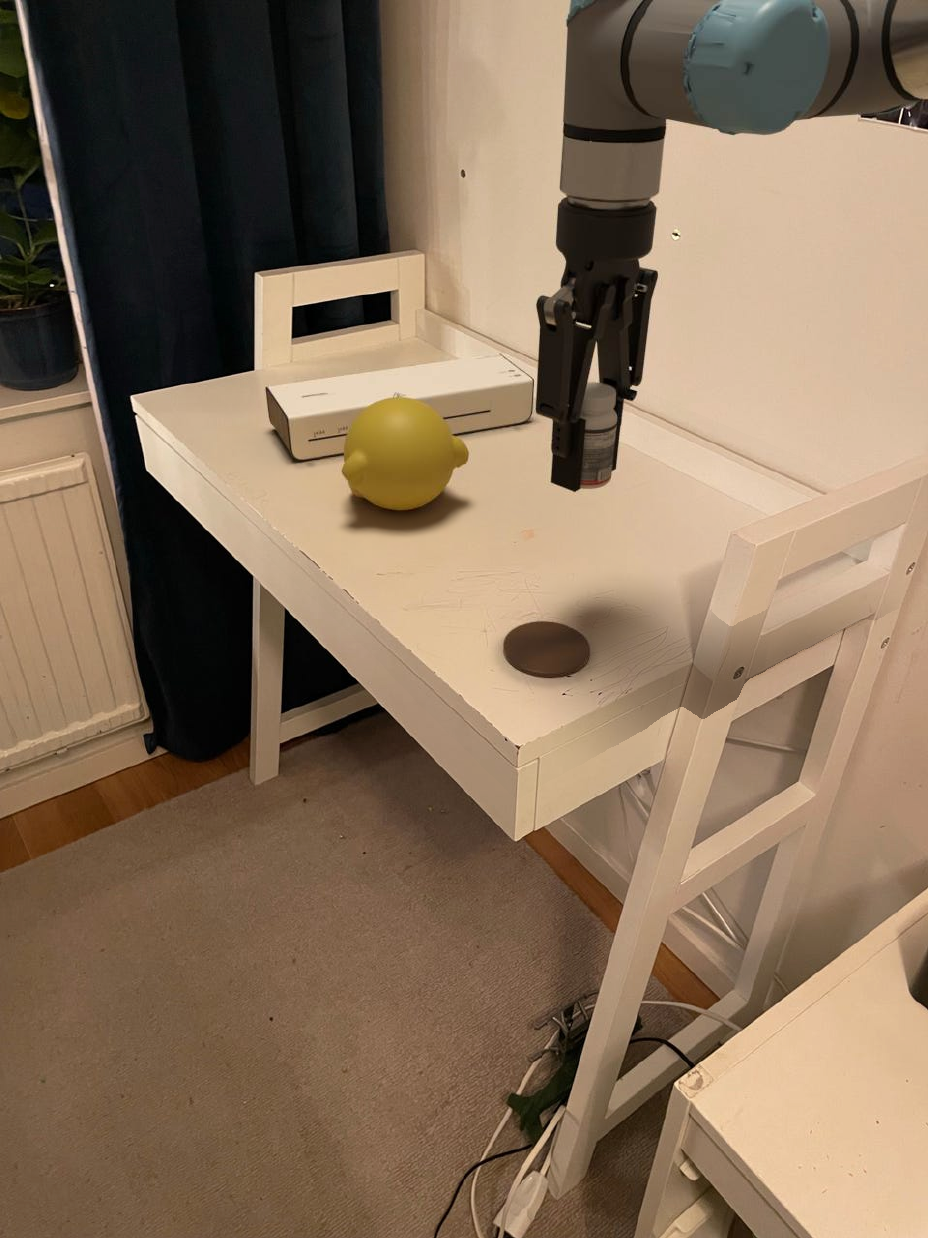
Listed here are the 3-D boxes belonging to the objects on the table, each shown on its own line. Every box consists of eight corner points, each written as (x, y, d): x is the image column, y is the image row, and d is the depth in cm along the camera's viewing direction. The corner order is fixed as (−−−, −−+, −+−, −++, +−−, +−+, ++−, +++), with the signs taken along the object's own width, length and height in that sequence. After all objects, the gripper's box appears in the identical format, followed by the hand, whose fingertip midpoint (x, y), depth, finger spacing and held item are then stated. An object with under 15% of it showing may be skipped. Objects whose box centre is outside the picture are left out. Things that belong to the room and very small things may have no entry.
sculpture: (431, 447, 117) (448, 365, 106) (469, 523, 111) (491, 444, 100) (315, 467, 112) (321, 382, 101) (349, 548, 106) (359, 467, 95)
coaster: (606, 648, 87) (606, 644, 87) (554, 689, 82) (554, 684, 82) (538, 615, 91) (539, 611, 91) (485, 651, 86) (485, 647, 86)
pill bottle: (553, 468, 86) (558, 381, 81) (602, 465, 87) (611, 378, 82) (565, 492, 82) (571, 401, 78) (617, 488, 83) (626, 398, 78)
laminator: (291, 463, 118) (286, 417, 114) (268, 426, 127) (262, 382, 123) (532, 422, 129) (534, 379, 125) (494, 390, 138) (496, 349, 135)
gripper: (633, 176, 79) (607, 434, 92) (493, 208, 68) (487, 495, 81) (711, 188, 74) (672, 457, 88) (576, 225, 64) (555, 525, 77)
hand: (583, 475), depth 84 cm, fingers closed on pill bottle, 5 cm apart
